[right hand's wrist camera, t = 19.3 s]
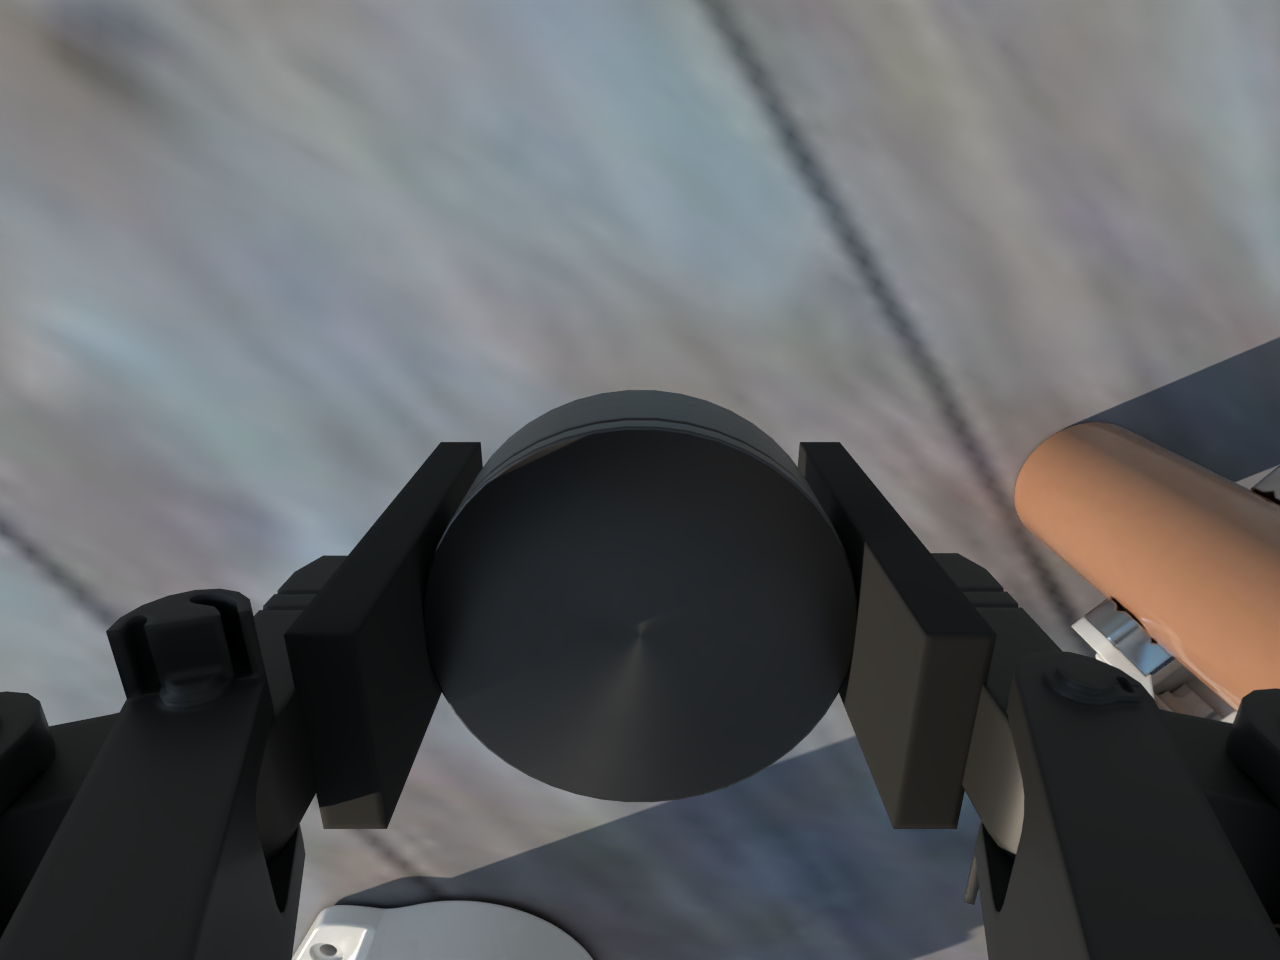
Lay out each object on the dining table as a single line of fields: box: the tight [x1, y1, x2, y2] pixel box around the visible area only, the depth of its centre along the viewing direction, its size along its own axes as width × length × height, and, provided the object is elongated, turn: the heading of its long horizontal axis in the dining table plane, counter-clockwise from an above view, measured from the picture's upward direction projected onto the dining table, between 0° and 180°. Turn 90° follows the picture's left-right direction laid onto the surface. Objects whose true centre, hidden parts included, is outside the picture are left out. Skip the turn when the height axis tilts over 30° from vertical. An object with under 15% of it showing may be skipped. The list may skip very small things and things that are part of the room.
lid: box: [423, 390, 858, 802], centre depth 11 cm, size 6×6×2 cm
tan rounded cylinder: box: [1015, 422, 1280, 712], centre depth 20 cm, size 5×5×17 cm
